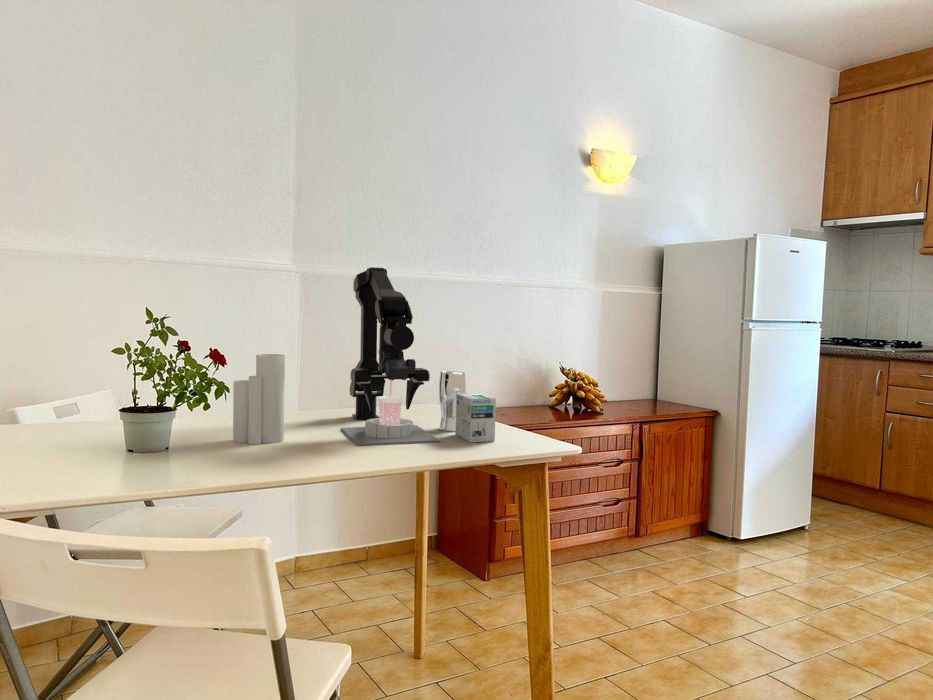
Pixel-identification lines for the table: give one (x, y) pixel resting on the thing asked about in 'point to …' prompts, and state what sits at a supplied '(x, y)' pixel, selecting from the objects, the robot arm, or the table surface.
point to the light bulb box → (475, 417)
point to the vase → (260, 402)
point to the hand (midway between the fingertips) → (389, 409)
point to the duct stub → (388, 433)
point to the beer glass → (450, 397)
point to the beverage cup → (389, 409)
